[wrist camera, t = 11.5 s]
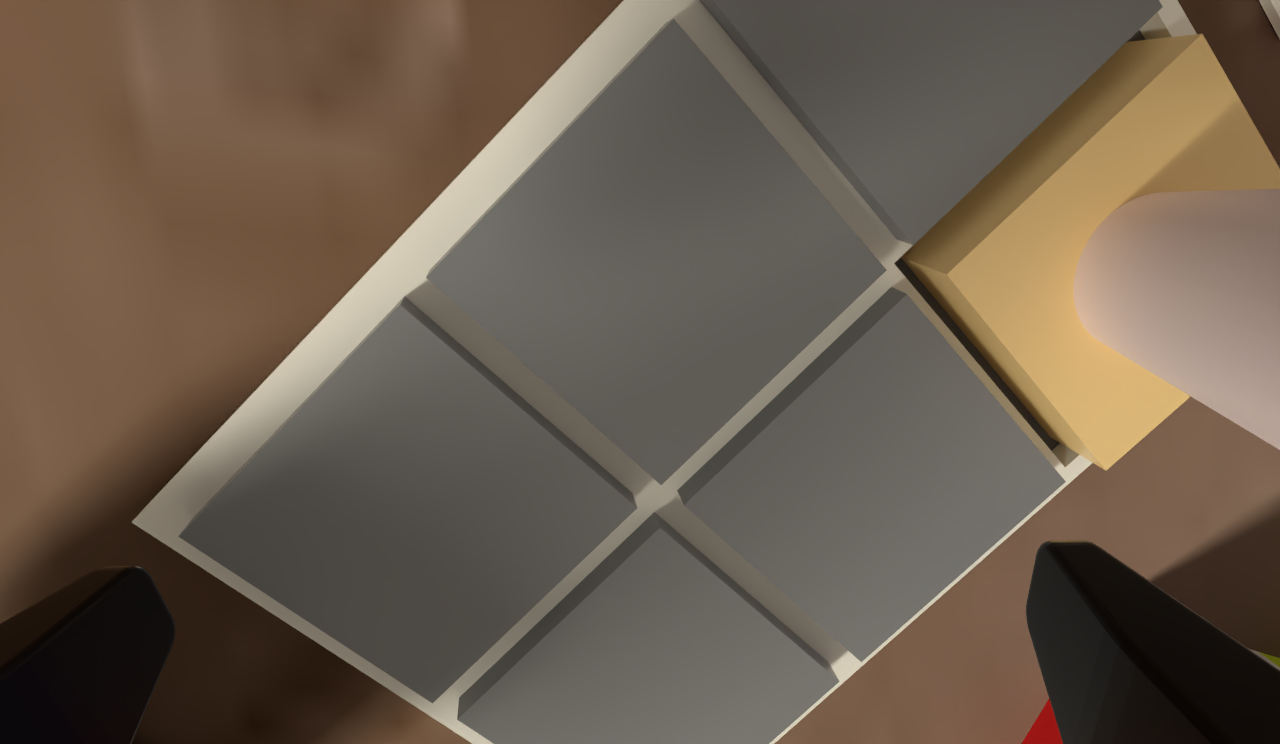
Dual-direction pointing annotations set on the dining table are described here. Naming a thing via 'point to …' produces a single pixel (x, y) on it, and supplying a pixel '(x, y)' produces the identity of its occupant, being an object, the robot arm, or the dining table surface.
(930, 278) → the amber button
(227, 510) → the button board
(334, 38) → the dining table surface
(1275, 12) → the pattern card
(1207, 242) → the smoothie
